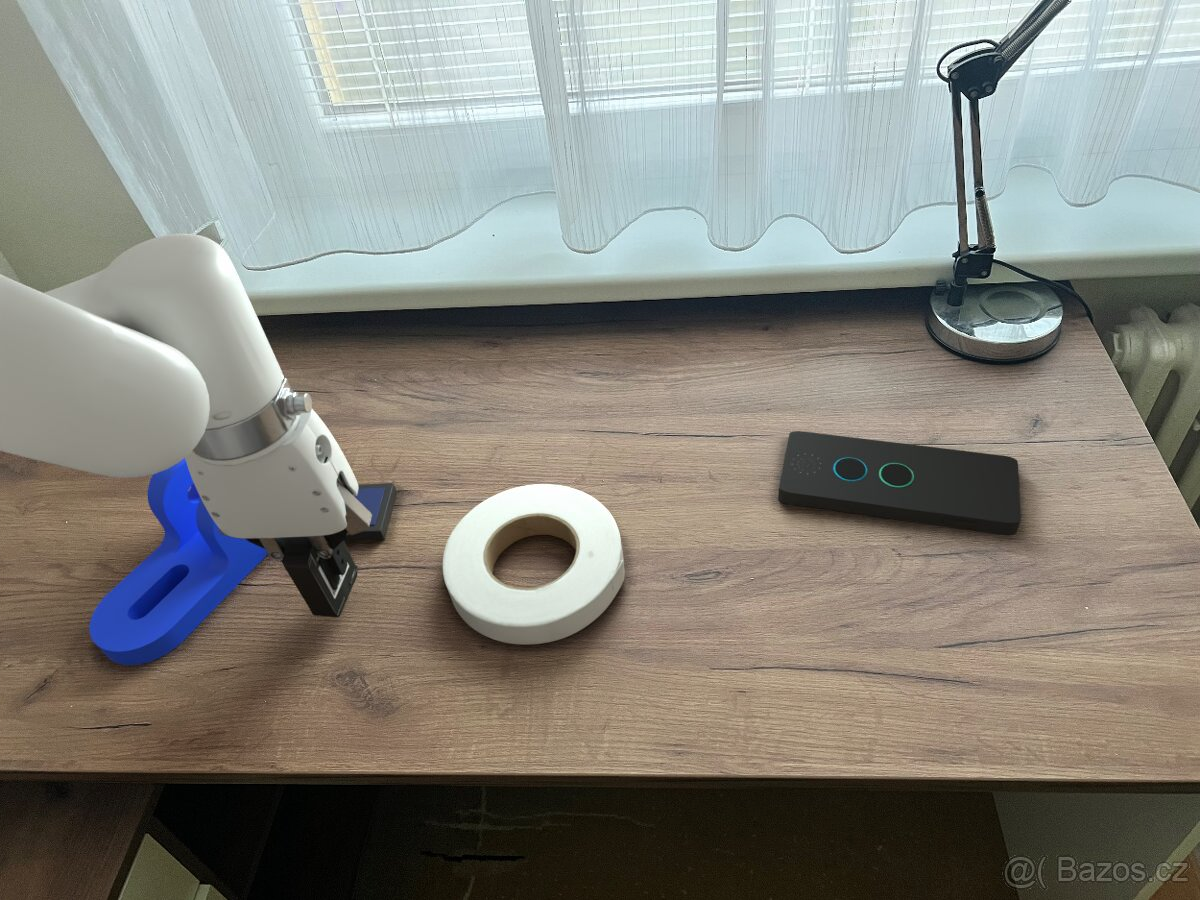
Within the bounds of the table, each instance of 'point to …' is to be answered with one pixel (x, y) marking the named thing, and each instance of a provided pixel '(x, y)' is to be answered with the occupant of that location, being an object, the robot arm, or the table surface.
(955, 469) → the smart home device
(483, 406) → the table surface
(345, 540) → the ink pad
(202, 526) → the bracket
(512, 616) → the tape roll
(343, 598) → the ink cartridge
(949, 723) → the table surface
